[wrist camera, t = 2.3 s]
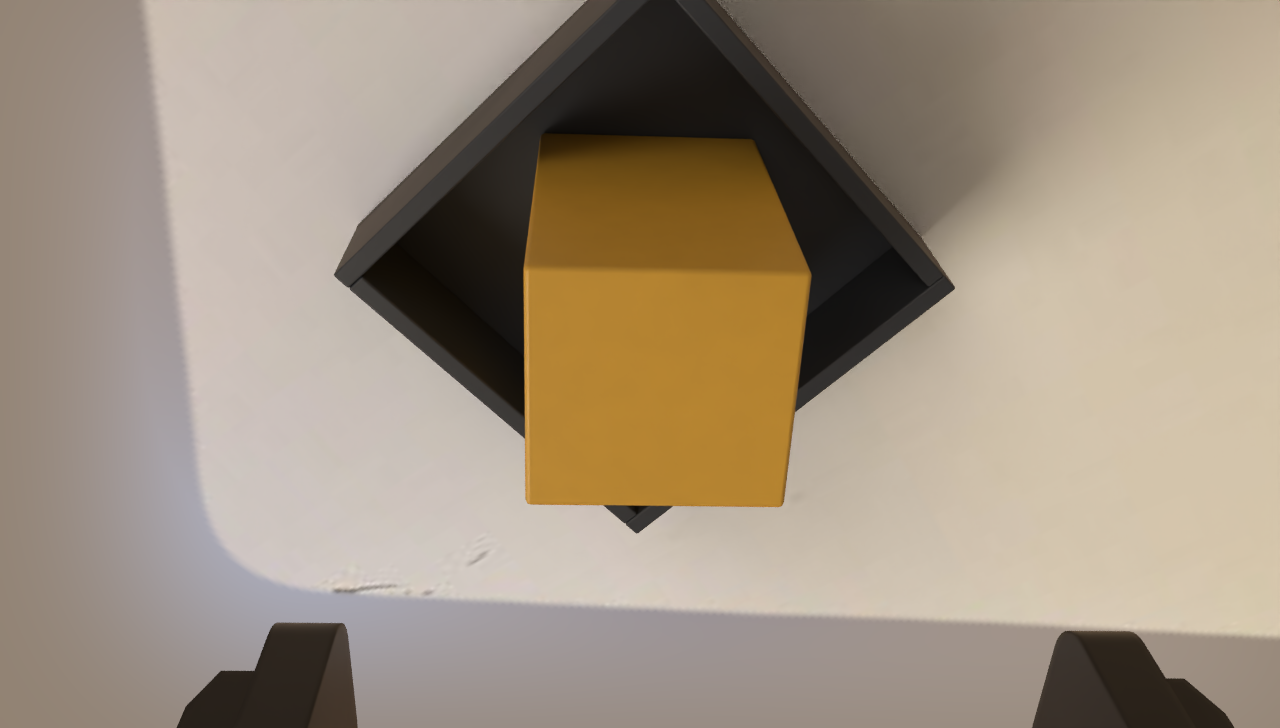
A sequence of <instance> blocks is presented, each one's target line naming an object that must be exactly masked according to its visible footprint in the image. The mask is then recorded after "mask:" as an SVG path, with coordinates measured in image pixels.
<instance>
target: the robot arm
mask: <svg viewBox="0 0 1280 728" xmlns="http://www.w3.org/2000/svg"><path fill="white" fill-rule="evenodd" d="M177 728H357V716H356V706H355V698H354V688H353V679H352V669H351V660H350V651H349V641H348V634H347V629H346V627H345V625H344V624H343V623H275V624H274V625H273V626H272V628H271V630H270V632H269V634H268V636H267V639H266V642H265V644H264V647H263V650H262V652H261V656H260V658H259V660H258V664H257V666H256V669H255V671H221V672H219V673H218V674H217V676H215V677H214V679H213V680H212V681H211V682H210V683H209V684H208V685H207V686H206V687H205V688H204V689H203V690H202V691H201V692H200V693H199V694H198V695H197V696H196V697H195V698H194V699H193V700H192V701H191V702H190V703H189V704H188V705H187V706H186V707H185V710H184V712H183V715H182V717H181V719H180V722H179V724H178V726H177ZM1032 728H1234V726H1233V725H1232V723H1231V722H1230V720H1229V719H1228V717H1227V716H1226V714H1225V713H1224V712H1223V711H1222V710H1220V709H1219V708H1218V707H1217V706H1216V705H1215V704H1213V703H1212V702H1211V701H1210V700H1209V699H1207V698H1206V697H1205V696H1204V695H1203V694H1202V693H1201V692H1199V691H1198V690H1197V689H1196V688H1195V687H1193V686H1192V685H1191V684H1190V683H1189V682H1188V681H1186V680H1185V679H1166V678H1165V677H1164V675H1163V673H1162V672H1161V670H1160V668H1159V667H1158V665H1157V664H1156V662H1155V660H1154V659H1153V657H1152V655H1151V654H1150V652H1149V650H1148V649H1147V647H1146V646H1145V644H1144V643H1143V641H1142V640H1141V639H1140V638H1139V637H1138V635H1136V634H1135V633H1133V632H1129V631H1065V632H1063V633H1062V634H1061V635H1060V636H1059V638H1058V640H1057V642H1056V644H1055V648H1054V651H1053V655H1052V658H1051V662H1050V665H1049V669H1048V673H1047V676H1046V680H1045V683H1044V687H1043V690H1042V694H1041V698H1040V701H1039V705H1038V708H1037V712H1036V715H1035V719H1034V723H1033V727H1032Z"/></svg>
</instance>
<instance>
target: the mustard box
mask: <svg viewBox="0 0 1280 728" xmlns="http://www.w3.org/2000/svg"><path fill="white" fill-rule="evenodd" d="M523 270H524V381H525V491H526V501H527V503H528V504H539V505H637V506H736V507H780V506H782V505H783V502H784V496H785V488H786V480H787V472H788V464H789V456H790V448H791V439H792V431H793V423H794V415H795V407H796V399H797V391H798V382H799V374H800V366H801V358H802V350H803V342H804V334H805V325H806V317H807V309H808V301H809V293H810V285H811V277H812V275H811V272H810V270H809V267H808V265H807V263H806V260H805V258H804V256H803V253H802V251H801V249H800V246H799V244H798V242H797V239H796V237H795V235H794V232H793V230H792V227H791V225H790V223H789V220H788V218H787V216H786V213H785V211H784V209H783V206H782V204H781V202H780V199H779V197H778V195H777V192H776V190H775V188H774V185H773V183H772V181H771V178H770V176H769V174H768V171H767V169H766V167H765V164H764V162H763V160H762V157H761V155H760V153H759V150H758V148H757V146H756V143H755V141H754V140H752V139H728V138H692V137H656V136H620V135H584V134H548V133H544V134H542V135H541V137H540V144H539V151H538V159H537V167H536V175H535V183H534V191H533V199H532V206H531V214H530V222H529V230H528V238H527V246H526V254H525V262H524V269H523Z"/></svg>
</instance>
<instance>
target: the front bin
mask: <svg viewBox="0 0 1280 728" xmlns="http://www.w3.org/2000/svg"><path fill="white" fill-rule="evenodd" d="M544 133H548V134H584V135H620V136H656V137H692V138H728V139H752V140H754V141H755V143H756V146H757V148H758V150H759V153H760V155H761V157H762V160H763V162H764V164H765V167H766V169H767V171H768V174H769V176H770V178H771V181H772V183H773V185H774V188H775V190H776V192H777V195H778V197H779V199H780V202H781V204H782V206H783V209H784V211H785V213H786V216H787V218H788V220H789V223H790V225H791V227H792V230H793V232H794V235H795V237H796V239H797V242H798V244H799V246H800V249H801V251H802V253H803V256H804V258H805V260H806V263H807V265H808V267H809V270H810V272H811V275H812V277H811V285H810V293H809V301H808V309H807V317H806V325H805V334H804V342H803V350H802V358H801V366H800V374H799V382H798V391H797V399H796V407H795V412H796V411H797V410H798V409H800V408H801V407H802V406H804V405H805V404H806V403H807V402H809V401H810V400H811V399H813V398H814V397H815V396H817V395H818V394H819V393H820V392H822V391H823V390H824V389H826V388H827V387H828V386H830V385H831V384H832V383H833V382H835V381H836V380H837V379H839V378H840V377H841V376H843V375H844V374H845V373H846V372H848V371H849V370H850V369H852V368H853V367H854V366H856V365H857V364H858V363H859V362H861V361H862V360H863V359H865V358H866V357H867V356H868V355H870V354H871V353H872V352H874V351H875V350H876V349H878V348H879V347H880V346H881V345H883V344H884V343H885V342H887V341H888V340H889V339H891V338H892V337H893V336H894V335H896V334H897V333H898V332H900V331H901V330H902V329H904V328H905V327H906V326H907V325H909V324H910V323H911V322H913V321H914V320H915V319H917V318H918V317H919V316H920V315H922V314H923V313H924V312H926V311H927V310H928V309H929V308H931V307H932V306H933V305H935V304H936V303H937V302H939V301H940V300H941V299H942V298H944V297H945V296H946V295H948V294H949V293H950V292H952V291H953V290H954V289H955V287H954V285H953V284H952V282H951V281H950V279H949V278H948V276H947V275H946V273H945V272H944V270H943V269H942V268H941V266H940V265H939V263H938V262H937V260H936V259H935V257H934V256H933V254H932V253H931V251H930V250H929V249H928V247H927V246H926V244H925V243H924V241H923V240H922V238H921V237H920V236H919V235H918V234H917V232H916V231H915V230H914V229H913V228H912V227H911V225H910V224H909V223H908V222H907V221H906V220H905V218H904V217H903V216H902V215H901V214H900V213H899V212H898V210H897V209H896V208H895V207H894V206H893V205H892V203H891V202H890V201H889V200H888V199H887V198H886V197H885V195H884V194H883V193H882V192H881V191H880V190H879V188H878V187H877V186H876V185H875V184H874V183H873V181H872V180H871V179H870V178H869V177H868V176H867V175H866V173H865V172H864V171H863V170H862V169H861V168H860V166H859V165H858V164H857V163H856V162H855V161H854V159H853V158H852V157H851V156H850V155H849V154H848V153H847V151H846V150H845V149H844V148H843V147H842V146H841V144H840V143H839V142H838V141H837V140H836V139H835V138H834V136H833V135H832V134H831V133H830V132H829V131H828V129H827V128H826V127H825V126H824V125H823V124H822V122H821V121H820V120H819V119H818V118H817V117H816V116H815V114H814V113H813V112H812V111H811V110H810V109H809V107H808V106H807V105H806V104H805V103H804V102H803V101H802V99H801V98H800V97H799V96H798V95H797V94H796V92H795V91H794V90H793V89H792V88H791V87H790V85H789V84H788V83H787V82H786V81H785V80H784V79H783V77H782V76H781V75H780V74H779V73H778V72H777V70H776V69H775V68H774V67H773V66H772V65H771V64H770V62H769V61H768V60H767V59H766V58H765V57H764V55H763V54H762V53H761V52H760V51H759V50H758V48H757V47H756V46H755V45H754V44H753V43H752V42H751V40H750V39H749V38H748V37H747V36H746V35H745V33H744V32H743V31H742V30H741V29H740V28H739V27H738V25H737V24H736V23H735V22H734V21H733V20H732V18H731V17H730V16H729V15H728V14H727V13H726V11H725V10H724V9H723V8H722V7H721V6H720V5H719V3H718V2H717V1H716V0H587V1H586V2H585V3H584V4H583V5H582V6H581V7H580V8H579V9H578V10H577V11H576V12H575V13H574V14H573V15H572V16H571V17H570V18H569V19H568V20H567V21H566V22H565V23H564V24H563V25H562V26H561V27H560V28H559V29H558V30H557V31H556V32H555V33H554V34H553V35H552V36H550V37H549V38H548V39H547V40H546V41H545V42H544V43H543V44H542V45H541V46H540V47H539V48H538V49H537V50H536V51H535V52H534V53H533V54H532V55H531V56H530V57H529V58H528V59H527V60H526V61H525V62H524V63H523V64H522V65H521V66H520V67H519V68H518V69H517V70H516V71H515V72H514V73H513V74H512V75H511V76H510V77H509V78H508V79H507V80H506V81H505V82H503V83H502V84H501V85H500V86H499V87H498V88H497V89H496V90H495V91H494V92H493V93H492V94H491V95H490V96H489V97H488V98H487V99H486V100H485V101H484V102H483V103H482V104H481V105H480V106H479V107H478V108H477V109H476V110H475V111H474V112H473V113H472V114H471V115H470V116H469V117H468V118H467V119H466V120H465V121H464V122H463V123H462V124H461V125H460V126H459V127H458V128H457V129H455V130H454V131H453V132H452V133H451V134H450V135H449V136H448V137H447V138H446V139H445V140H444V141H443V142H442V143H441V144H440V145H439V146H438V147H437V148H436V149H435V150H434V151H433V152H432V153H431V154H430V155H429V156H428V157H427V158H426V159H425V160H424V161H423V162H422V163H421V164H420V165H419V166H418V167H417V168H416V169H415V170H414V171H413V172H412V173H411V174H410V175H408V176H407V177H406V178H405V179H404V180H403V181H402V182H401V183H400V184H399V185H398V186H397V187H396V188H395V189H394V190H393V191H392V192H391V193H390V194H389V195H388V196H387V197H386V198H385V199H384V200H383V201H382V202H381V203H380V204H379V205H378V206H377V207H376V208H375V209H374V210H373V211H372V212H371V213H370V214H369V215H368V216H367V217H366V218H365V219H364V220H363V221H362V222H360V223H359V224H358V226H357V228H356V231H355V233H354V235H353V237H352V239H351V241H350V243H349V245H348V247H347V249H346V251H345V253H344V255H343V257H342V259H341V261H340V263H339V265H338V268H337V270H336V272H335V274H334V276H335V277H336V278H337V279H338V280H339V281H341V282H342V283H343V284H344V285H345V286H346V287H350V290H351V291H352V292H353V293H355V294H356V295H357V296H358V297H359V298H361V299H362V300H363V301H364V302H365V303H366V304H368V305H369V306H370V307H371V308H372V309H373V310H375V311H376V312H377V313H378V314H379V315H380V316H382V317H383V318H384V319H385V320H386V321H388V322H389V323H390V324H391V325H392V326H393V327H395V328H396V329H397V330H398V331H399V332H400V333H402V334H403V335H404V336H405V337H406V338H407V339H409V340H410V341H411V342H412V343H413V344H415V345H416V346H417V347H418V348H419V349H420V350H422V351H423V352H424V353H425V354H426V355H427V356H429V357H430V358H431V359H432V360H433V361H434V362H436V363H437V364H438V365H439V366H440V367H442V368H443V369H444V370H445V371H446V372H447V373H449V374H450V375H451V376H452V377H453V378H454V379H456V380H457V381H458V382H459V383H460V384H461V385H463V386H464V387H465V388H466V389H467V390H469V391H470V392H471V393H472V394H473V395H474V396H476V397H477V398H478V399H479V400H480V401H481V402H483V403H484V404H485V405H486V406H487V407H488V408H490V409H491V410H492V411H493V412H494V413H496V414H497V415H498V416H499V417H500V418H501V419H503V420H504V421H505V422H506V423H507V424H508V425H510V426H511V427H512V428H513V429H514V430H516V431H517V432H518V433H519V434H520V435H521V436H523V437H524V438H525V381H524V270H523V269H524V262H525V254H526V246H527V238H528V230H529V222H530V214H531V206H532V199H533V191H534V183H535V175H536V167H537V159H538V151H539V144H540V137H541V135H542V134H544ZM604 506H605V507H606V508H607V509H608V510H609V511H611V512H612V513H613V514H614V515H615V516H616V517H618V518H619V519H620V520H621V521H622V522H624V523H626V525H627V526H628V527H629V528H631V529H632V530H633V531H634V532H635V533H639V532H640V531H641V530H643V529H644V528H645V527H647V526H648V525H649V524H650V523H652V522H653V521H654V520H656V519H657V518H658V517H660V516H661V515H662V514H663V513H665V512H666V511H667V510H669V509H670V508H671V507H672V506H637V505H604Z"/></svg>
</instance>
